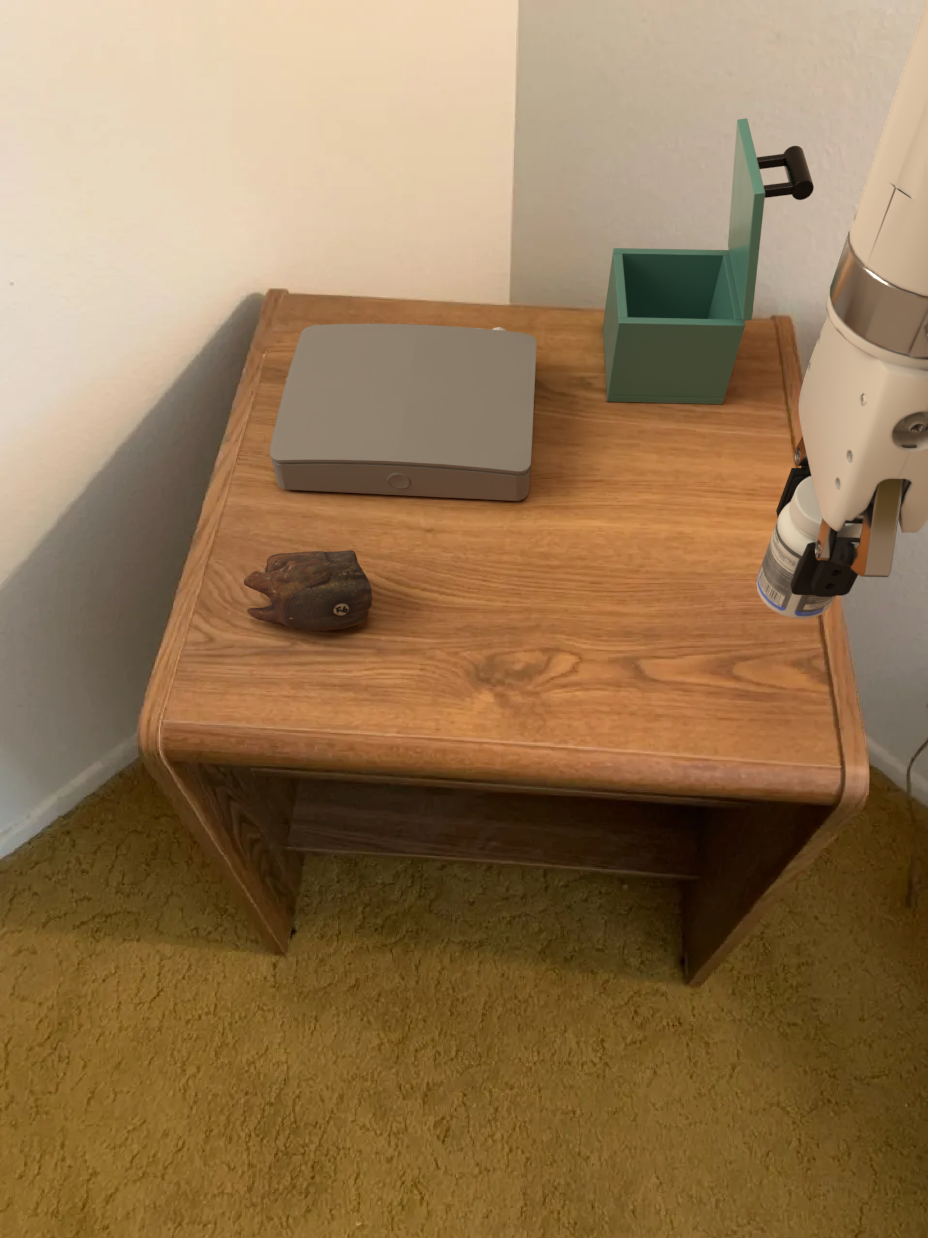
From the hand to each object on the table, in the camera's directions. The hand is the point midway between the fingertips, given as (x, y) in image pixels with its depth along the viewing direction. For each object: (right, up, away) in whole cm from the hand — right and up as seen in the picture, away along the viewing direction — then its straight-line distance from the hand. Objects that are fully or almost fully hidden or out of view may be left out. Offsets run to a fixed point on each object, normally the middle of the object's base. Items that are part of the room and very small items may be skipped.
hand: (810, 551), depth 54 cm
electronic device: (-25, +14, +30) cm, 41 cm away
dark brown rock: (-32, -3, +18) cm, 37 cm away
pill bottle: (0, -2, +3) cm, 4 cm away
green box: (-2, +20, +34) cm, 39 cm away
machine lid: (+2, +29, +21) cm, 36 cm away
